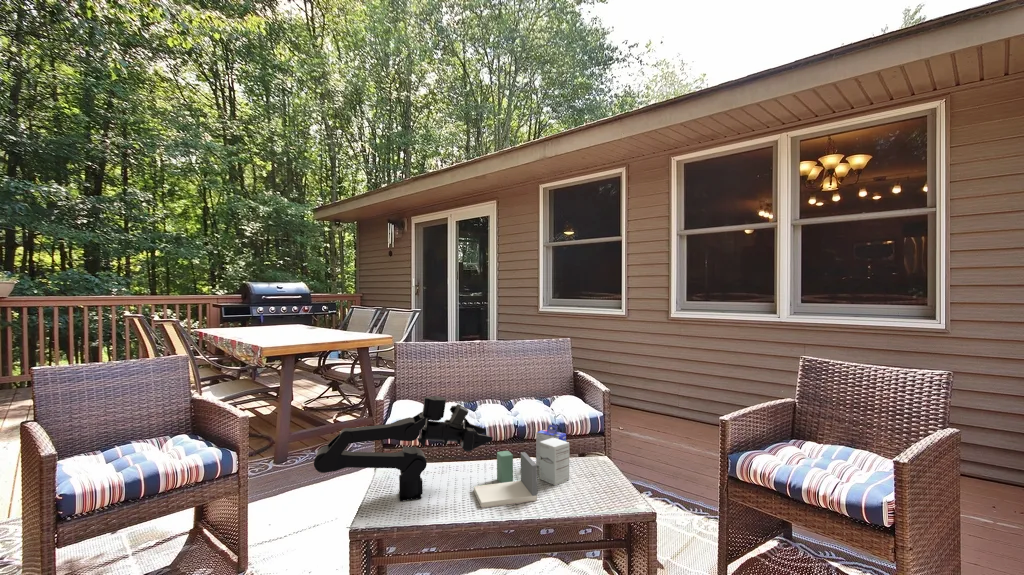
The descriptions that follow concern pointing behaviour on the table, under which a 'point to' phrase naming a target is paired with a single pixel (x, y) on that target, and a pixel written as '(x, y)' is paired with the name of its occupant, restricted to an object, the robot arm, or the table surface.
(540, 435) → the ink cartridge box
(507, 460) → the mint green square pillar
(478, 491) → the shelf board
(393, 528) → the table surface
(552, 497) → the table surface
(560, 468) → the supplement box
